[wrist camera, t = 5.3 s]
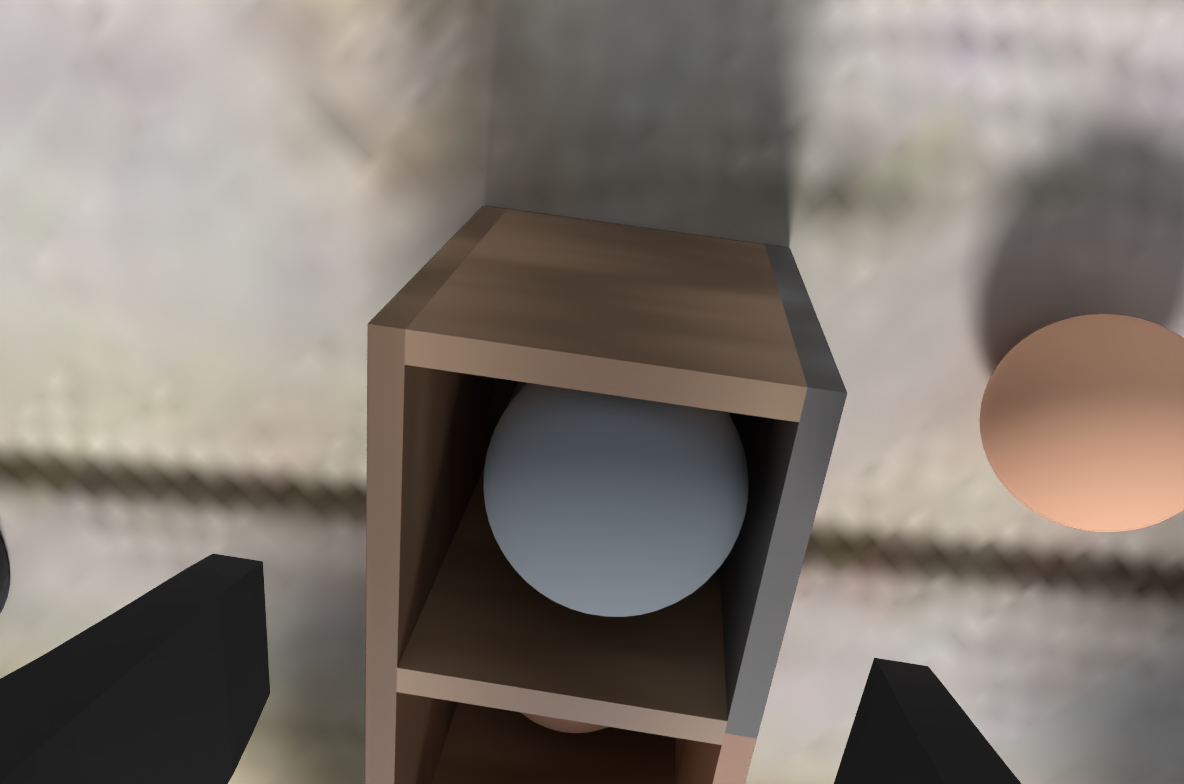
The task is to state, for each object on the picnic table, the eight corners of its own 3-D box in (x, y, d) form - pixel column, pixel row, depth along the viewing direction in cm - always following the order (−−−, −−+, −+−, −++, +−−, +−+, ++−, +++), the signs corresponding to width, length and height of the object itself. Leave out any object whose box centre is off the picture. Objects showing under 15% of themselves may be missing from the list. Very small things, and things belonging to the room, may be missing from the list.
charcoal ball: (704, 425, 16) (784, 321, 13) (705, 646, 15) (796, 598, 11) (489, 400, 16) (507, 283, 12) (463, 626, 14) (477, 569, 10)
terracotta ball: (1195, 301, 17) (1332, 383, 13) (1120, 477, 19) (1223, 593, 15) (988, 272, 17) (1067, 346, 14) (932, 449, 19) (989, 557, 15)
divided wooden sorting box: (789, 248, 17) (846, 392, 11) (693, 698, 22) (694, 976, 16) (483, 205, 18) (367, 323, 11) (455, 660, 23) (364, 918, 16)
